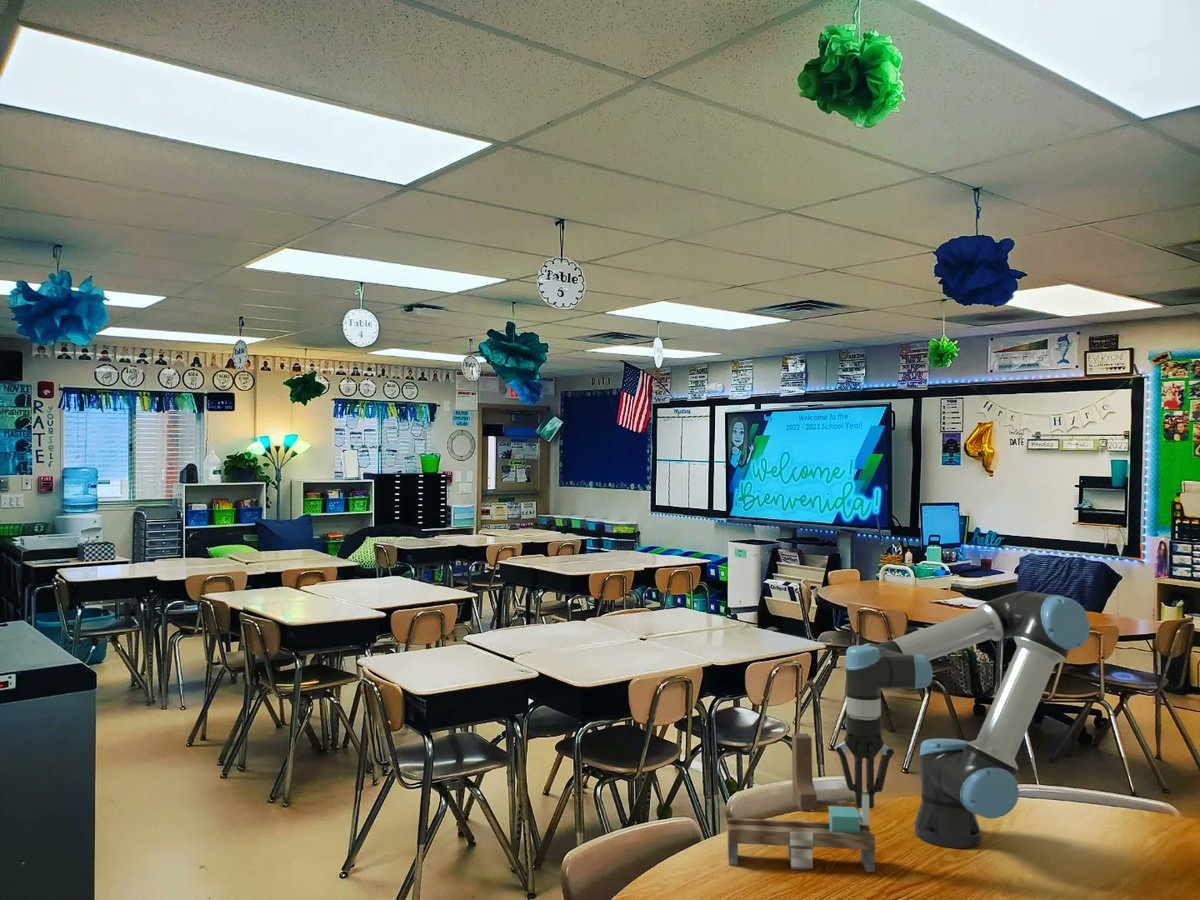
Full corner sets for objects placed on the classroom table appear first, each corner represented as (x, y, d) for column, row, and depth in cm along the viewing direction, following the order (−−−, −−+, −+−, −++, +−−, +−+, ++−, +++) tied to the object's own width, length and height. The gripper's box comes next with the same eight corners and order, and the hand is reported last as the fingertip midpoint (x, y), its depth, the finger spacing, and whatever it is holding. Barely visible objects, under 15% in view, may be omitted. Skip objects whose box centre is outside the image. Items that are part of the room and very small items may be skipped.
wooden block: (817, 811, 224) (816, 742, 225) (800, 811, 224) (799, 742, 225) (808, 799, 233) (807, 733, 234) (792, 799, 233) (791, 733, 234)
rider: (855, 827, 194) (855, 807, 194) (860, 838, 187) (860, 817, 188) (828, 826, 194) (828, 806, 195) (833, 837, 188) (832, 816, 188)
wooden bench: (868, 859, 193) (868, 823, 194) (875, 873, 186) (875, 836, 187) (727, 853, 197) (727, 817, 197) (729, 866, 190) (728, 829, 190)
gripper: (889, 712, 195) (890, 817, 194) (831, 710, 197) (832, 815, 195) (897, 720, 188) (898, 830, 186) (837, 718, 189) (838, 827, 187)
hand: (864, 822), depth 191 cm, fingers closed
